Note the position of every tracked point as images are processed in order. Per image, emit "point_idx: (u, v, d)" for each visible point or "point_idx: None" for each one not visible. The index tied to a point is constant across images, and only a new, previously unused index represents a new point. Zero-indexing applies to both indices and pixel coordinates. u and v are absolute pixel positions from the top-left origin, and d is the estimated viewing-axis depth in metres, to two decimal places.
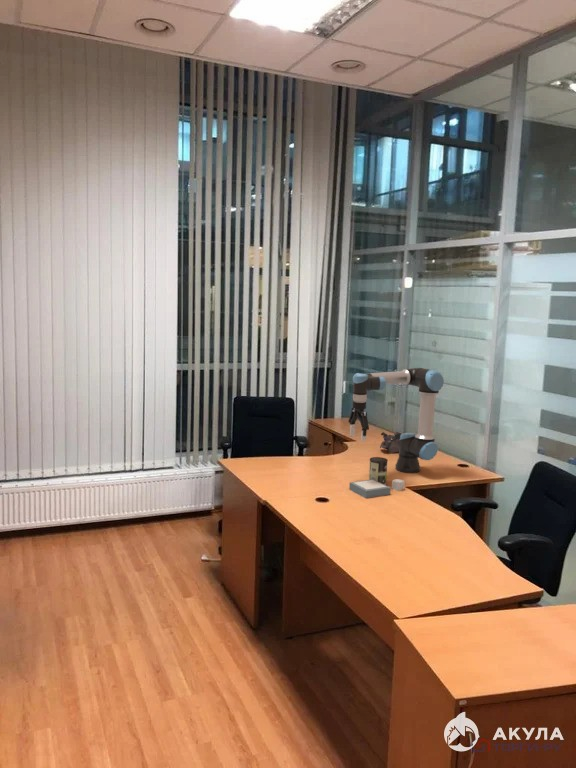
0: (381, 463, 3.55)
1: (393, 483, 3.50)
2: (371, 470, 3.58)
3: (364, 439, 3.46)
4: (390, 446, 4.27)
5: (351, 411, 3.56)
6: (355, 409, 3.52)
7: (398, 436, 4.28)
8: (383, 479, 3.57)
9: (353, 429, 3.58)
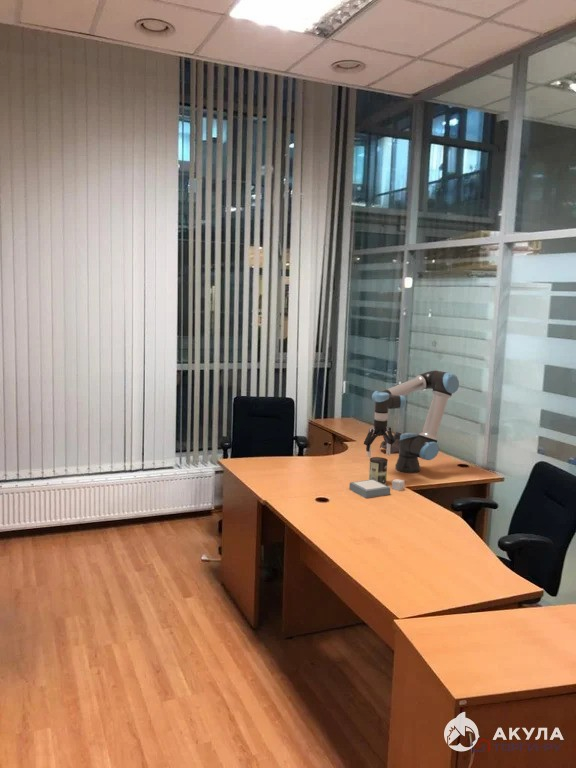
0: (381, 463, 3.55)
1: (393, 483, 3.50)
2: (371, 470, 3.58)
3: (368, 455, 3.55)
4: None
5: None
6: None
7: (398, 436, 4.28)
8: (383, 479, 3.57)
9: (388, 448, 3.61)
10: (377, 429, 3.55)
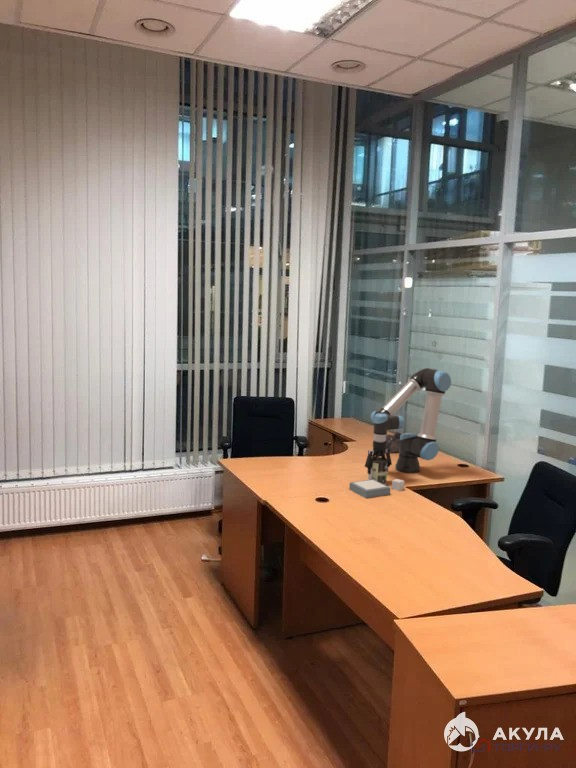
0: (381, 463, 3.55)
1: (393, 483, 3.50)
2: None
3: (369, 477, 3.58)
4: (390, 446, 4.28)
5: None
6: None
7: (398, 436, 4.28)
8: (383, 479, 3.57)
9: None
10: (376, 450, 3.57)
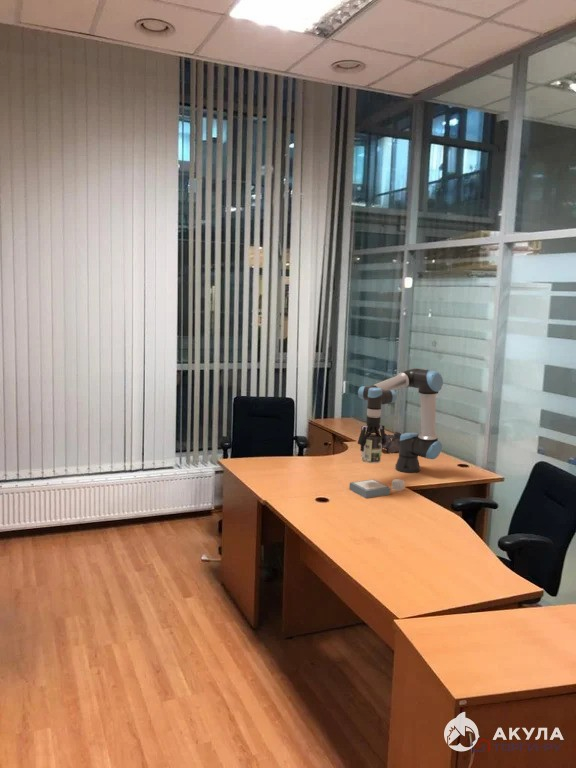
0: (375, 439, 3.36)
1: (393, 483, 3.50)
2: None
3: (363, 455, 3.39)
4: (390, 446, 4.28)
5: None
6: None
7: (397, 436, 4.29)
8: (377, 457, 3.38)
9: None
10: (370, 426, 3.38)
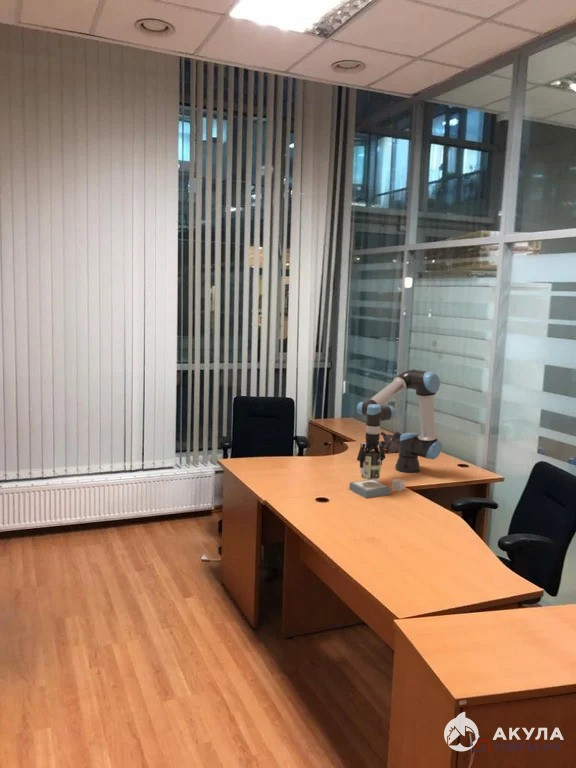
0: (374, 456, 3.37)
1: (393, 483, 3.50)
2: None
3: (362, 471, 3.40)
4: (390, 446, 4.28)
5: None
6: None
7: (397, 435, 4.29)
8: (376, 473, 3.39)
9: None
10: (369, 443, 3.38)
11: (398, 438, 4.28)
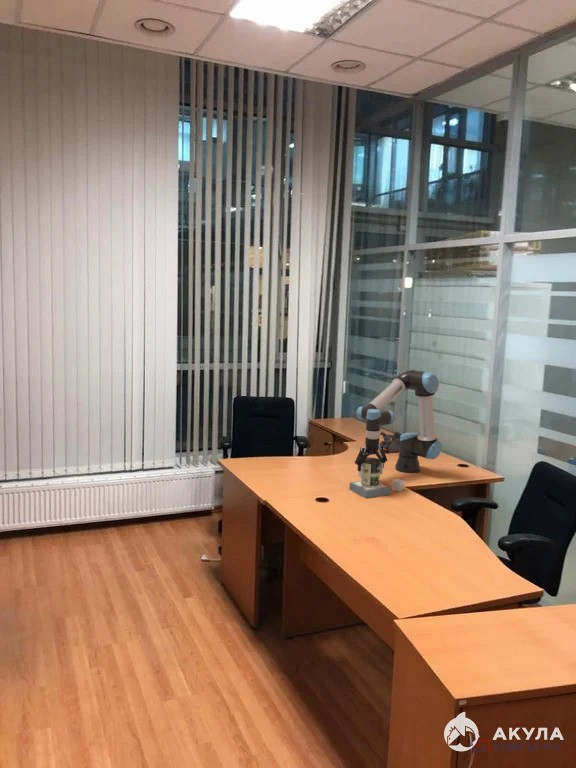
0: (374, 464, 3.38)
1: (393, 483, 3.50)
2: (363, 471, 3.40)
3: (360, 474, 3.40)
4: (390, 445, 4.28)
5: None
6: None
7: (397, 435, 4.30)
8: (376, 481, 3.40)
9: (380, 467, 3.46)
10: (369, 448, 3.39)
11: (398, 438, 4.29)
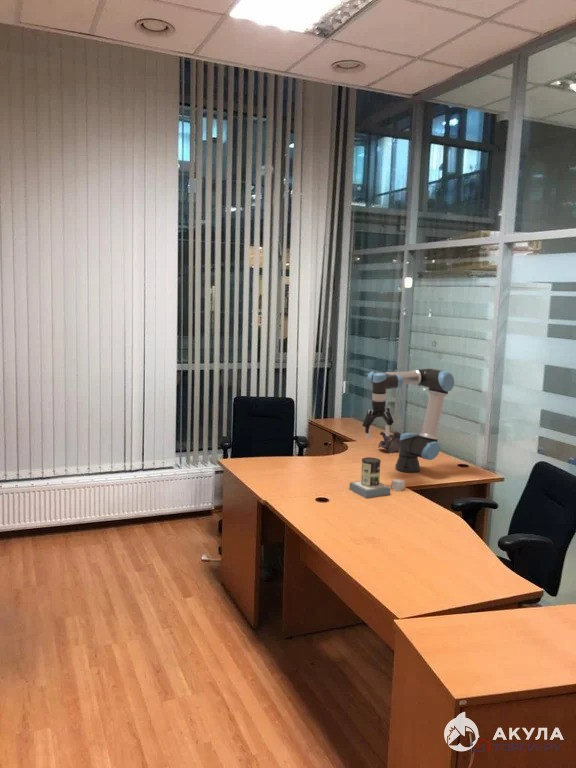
0: (374, 464, 3.37)
1: (393, 483, 3.50)
2: (363, 471, 3.40)
3: (367, 437, 3.50)
4: (389, 445, 4.29)
5: None
6: None
7: (397, 435, 4.30)
8: (376, 481, 3.40)
9: (387, 429, 3.56)
10: (375, 410, 3.49)
11: (398, 438, 4.29)
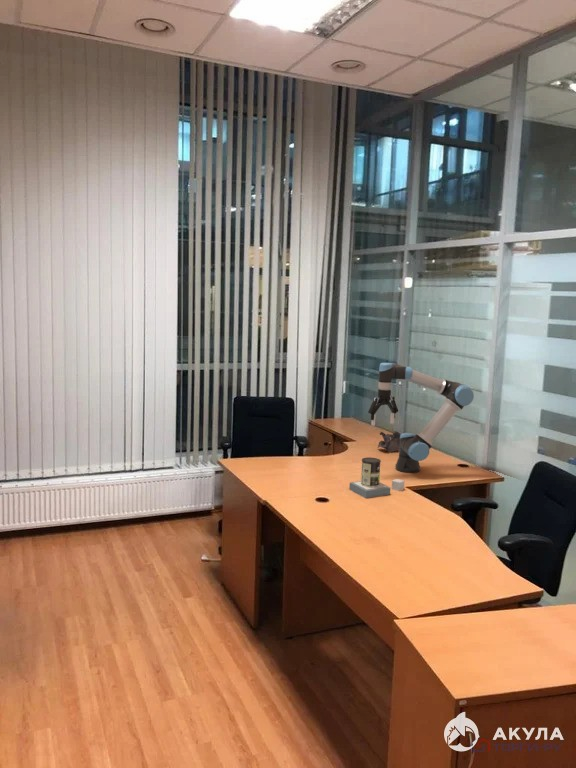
0: (374, 464, 3.38)
1: (393, 483, 3.50)
2: (363, 471, 3.40)
3: (373, 423, 3.66)
4: (389, 445, 4.29)
5: None
6: None
7: (396, 435, 4.31)
8: (376, 481, 3.40)
9: (392, 417, 3.72)
10: (381, 398, 3.65)
11: (397, 437, 4.30)
